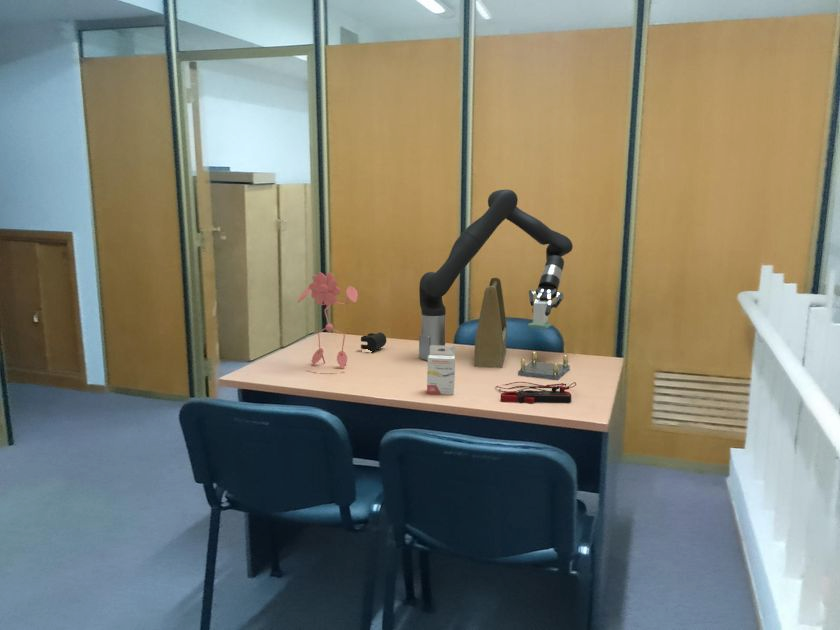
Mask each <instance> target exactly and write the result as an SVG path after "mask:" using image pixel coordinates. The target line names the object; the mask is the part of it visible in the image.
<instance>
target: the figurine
mask: <svg viewBox="0 0 840 630" xmlns="http://www.w3.org/2000/svg"><path fill="white" fill-rule="evenodd" d="M312 280H313V282H311V283H310V284H309V285H308V288H306V289H305V290H303V292H302V293H301V294H300V295H299V297H298V299H297V301H296V302H297V304H298V303H300V302H302V300H304V299H305V298H306V297H307V296H308V294H309V293H310V292H311V294H310V297H311V298H313V299H315V302H316V305H318V306H325V305H326V306H327V307H325V309H324V310H323V312H324V315H325V318H326V319H325V320H326V321H327V324H325V327H324V328H323V329H321V330H319V331H318V332H317V333H318V334H317V335H318V345H319V346H318V349H317V350H315V352H314V353H313V355H312V357H311V360H309V362H311V366H314V365H315V364H317V363H318V362H319V361H320V360H322V361H323V364H326V360H325V358H324V349H323V348H322V347H321V341H320V339H321V338H320V333H321V332H323V331H325V330H326V331H329V332H331V331H334V332H337V333H339V334H340V335H343V340H342V347H341V350H340V351H338V353H337V356H336V362H337V364H338V365H339V367H340V368H341V369H344V368H345V367H347V362H348V355H347V353H346V352H345V351H344V345H345V339H346V334H345V333H343V332H341V331H339V330H337V329H335V328H334V326H333V324H332V323H330V322H329V318H328V314H327V310H328V309H329V308H330V307H331V306H332V305H333V304H338V305H342V306H348V303H349V301H351V302H352V303H355V304H356V303H357V301H358V298H359V296H358V295H359V293H358V291H357V289H356V288H355V287H354V286H351V285H348V286H347V288H346V302H345V303H344V302H339V301H338V298H337V296H338V295H340V294H341V293H342V290H341V288H340V287H338V286H337V285H338V281H337V280H336V279H334V276H333V273H332V272H328V273H327V274H326V275H325V274H324V273H323V272H321V271H319V272H318V274H313V275H312ZM305 371H306V372H308V373H309V372H310V373H311V371H309V370H305ZM312 373H313V374H316V372H314V371H312ZM343 373H345V372H344V371H343V372H341V374H343ZM321 374H323V375H324V374H327V375H334V374H336V372H333V373H332V372H330V373H329V372H328V373H327V372H325V373H324V372H321Z"/></svg>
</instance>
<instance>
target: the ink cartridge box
mask: <svg viewBox="0 0 840 630" xmlns="http://www.w3.org/2000/svg"><path fill="white" fill-rule="evenodd" d="M441 348H443V349H445V351H438V349H441ZM455 349H456V348H455V346H454V345H445V346H434V345H430V349H429V350H430V354H429V356H428V361H427V372H426V373H427V378H426V379H427V380H426V394H429V395H430V394H431V395H455V394H454V393H455V378H456V375H455V374H456V369H455V368H456V356H455V355H456V354H455V351H456V350H455Z"/></svg>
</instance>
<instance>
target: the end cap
mask: <svg viewBox="0 0 840 630" xmlns="http://www.w3.org/2000/svg"><path fill="white" fill-rule="evenodd" d="M360 342H361V343H362V342H364V343H366V344H360V349H361V350H363V349H368V350H370V351H374V352H376V351H377V349H378V350H380V349H381V347H382V348H383V347H384V346H386V344H387V336H386V335H385V334H384V333H383V332H382V331H381V332H380V331H379V332H376V333H372V332H371V333H368V334H367V335H362V336H361V337H360ZM379 348H380V349H379ZM375 350H376V351H375Z"/></svg>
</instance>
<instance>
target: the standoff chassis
mask: <svg viewBox="0 0 840 630" xmlns="http://www.w3.org/2000/svg"><path fill="white" fill-rule="evenodd" d="M537 352H538V351H531V353H532V354H531V361H530V362H529V363H528V364H526V361H527V360H526V358H521V359H520V369H519V370H518V371H517V375H518V376H520V377H527V378H537V379H545V380H546V379H547V380H552V381H553V380H554V381H558V380H560V377H561V376H562V377H563V376H564V375H565V374H566V373H567V372H568V371H569V370H571V368H570V367H571V365H570V364H569V363H568V362H569V354H563V361H562V364H559V362H557V361H555V362H553V363H550V362H544V361H537V357H538V356H537ZM562 377H561V378H562Z"/></svg>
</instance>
